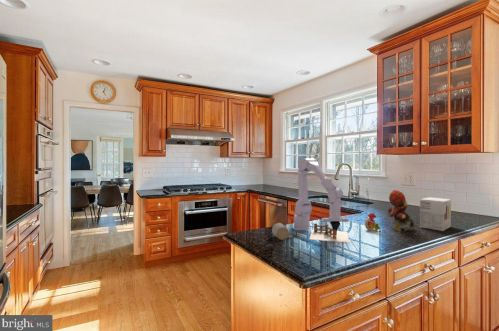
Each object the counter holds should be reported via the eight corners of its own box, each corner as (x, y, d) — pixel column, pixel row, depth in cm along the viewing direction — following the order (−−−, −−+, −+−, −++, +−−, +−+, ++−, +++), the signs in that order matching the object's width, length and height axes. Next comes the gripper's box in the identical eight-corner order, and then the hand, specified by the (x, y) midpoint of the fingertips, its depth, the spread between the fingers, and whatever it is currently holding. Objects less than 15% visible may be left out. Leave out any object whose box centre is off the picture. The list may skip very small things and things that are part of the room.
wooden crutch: (326, 233, 155) (326, 225, 154) (329, 233, 155) (329, 225, 155) (333, 238, 144) (333, 230, 144) (336, 238, 144) (336, 230, 144)
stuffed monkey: (409, 231, 154) (398, 189, 159) (384, 232, 169) (375, 193, 174) (425, 227, 161) (414, 186, 165) (399, 228, 176) (390, 190, 180)
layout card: (309, 240, 143) (309, 238, 143) (312, 230, 164) (312, 229, 164) (349, 243, 137) (349, 242, 137) (347, 232, 158) (347, 231, 158)
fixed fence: (313, 232, 157) (313, 224, 157) (314, 231, 159) (314, 223, 159) (328, 233, 155) (328, 225, 155) (328, 232, 156) (328, 224, 156)
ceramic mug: (276, 241, 142) (277, 226, 142) (271, 236, 150) (272, 223, 150) (295, 240, 144) (295, 225, 144) (289, 235, 152) (289, 222, 152)
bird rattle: (373, 235, 159) (383, 228, 163) (367, 219, 158) (378, 212, 161) (365, 233, 165) (375, 226, 168) (359, 217, 163) (369, 210, 167)
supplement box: (444, 231, 161) (444, 201, 161) (419, 227, 171) (419, 199, 171) (451, 226, 173) (451, 198, 172) (427, 223, 183) (427, 196, 182)
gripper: (324, 211, 143) (324, 237, 143) (351, 211, 144) (350, 236, 144) (320, 209, 150) (320, 233, 150) (345, 209, 151) (345, 233, 151)
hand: (334, 234), depth 148 cm, fingers closed
